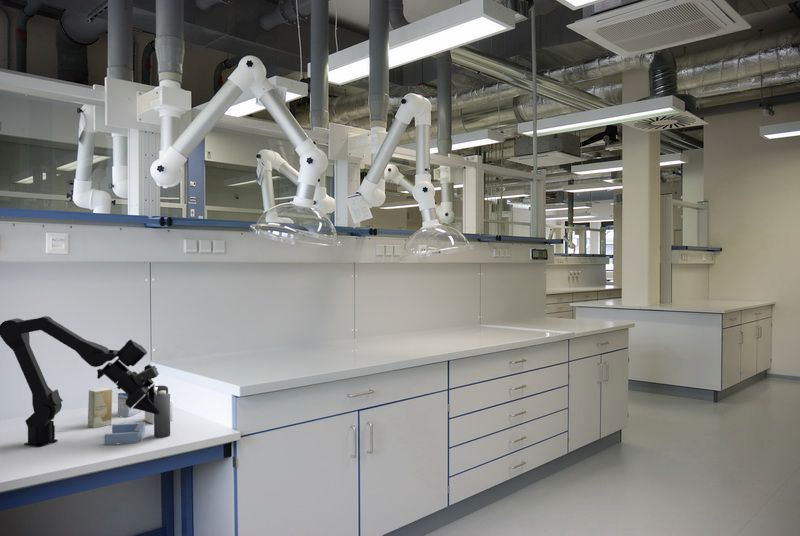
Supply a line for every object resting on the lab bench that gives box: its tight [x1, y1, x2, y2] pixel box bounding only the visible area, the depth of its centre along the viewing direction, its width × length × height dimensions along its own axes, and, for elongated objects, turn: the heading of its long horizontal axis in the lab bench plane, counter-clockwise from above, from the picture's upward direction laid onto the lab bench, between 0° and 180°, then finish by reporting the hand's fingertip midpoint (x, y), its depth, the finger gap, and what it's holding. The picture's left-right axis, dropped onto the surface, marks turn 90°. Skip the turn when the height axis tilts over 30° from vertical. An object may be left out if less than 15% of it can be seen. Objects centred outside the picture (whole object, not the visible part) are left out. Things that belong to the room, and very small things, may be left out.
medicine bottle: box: [144, 385, 174, 425], centre depth 207 cm, size 7×7×12 cm
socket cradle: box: [103, 422, 146, 445], centre depth 186 cm, size 10×12×3 cm
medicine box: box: [117, 390, 142, 418], centre depth 216 cm, size 8×4×9 cm, turn 172°
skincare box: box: [87, 387, 113, 429], centre depth 201 cm, size 6×4×12 cm
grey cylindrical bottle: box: [153, 390, 171, 439], centre depth 189 cm, size 5×5×14 cm
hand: (160, 409), depth 189 cm, fingers open, 9 cm apart
